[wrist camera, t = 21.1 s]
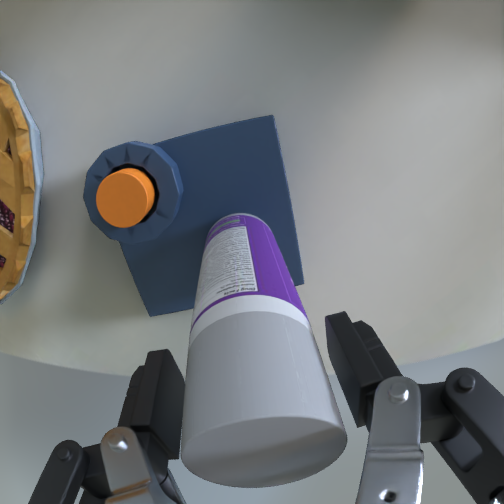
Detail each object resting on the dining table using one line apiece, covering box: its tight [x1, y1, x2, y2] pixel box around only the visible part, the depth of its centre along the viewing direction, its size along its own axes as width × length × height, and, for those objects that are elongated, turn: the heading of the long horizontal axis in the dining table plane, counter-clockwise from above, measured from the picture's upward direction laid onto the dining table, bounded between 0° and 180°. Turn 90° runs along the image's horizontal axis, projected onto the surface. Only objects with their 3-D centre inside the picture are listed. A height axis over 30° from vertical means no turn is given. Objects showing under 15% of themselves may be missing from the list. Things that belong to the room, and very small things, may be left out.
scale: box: [83, 115, 304, 317], centre depth 19 cm, size 12×12×4 cm
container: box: [181, 213, 347, 488], centre depth 13 cm, size 5×5×15 cm
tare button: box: [96, 168, 155, 228], centre depth 16 cm, size 3×3×2 cm
